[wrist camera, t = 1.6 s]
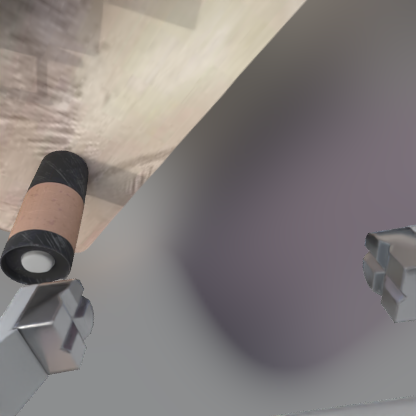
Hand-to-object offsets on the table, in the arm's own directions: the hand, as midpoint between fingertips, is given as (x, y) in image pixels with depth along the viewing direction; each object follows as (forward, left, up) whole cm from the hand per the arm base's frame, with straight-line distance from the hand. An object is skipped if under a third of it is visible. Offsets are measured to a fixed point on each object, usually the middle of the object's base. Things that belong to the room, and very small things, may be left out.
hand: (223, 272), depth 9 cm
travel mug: (+26, -9, -41) cm, 50 cm away
